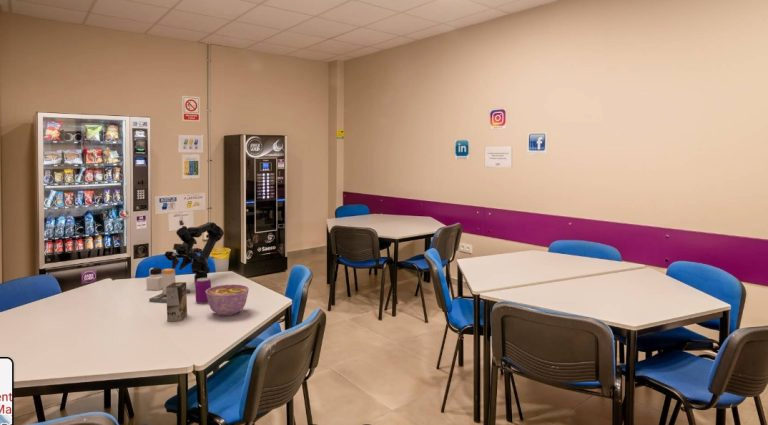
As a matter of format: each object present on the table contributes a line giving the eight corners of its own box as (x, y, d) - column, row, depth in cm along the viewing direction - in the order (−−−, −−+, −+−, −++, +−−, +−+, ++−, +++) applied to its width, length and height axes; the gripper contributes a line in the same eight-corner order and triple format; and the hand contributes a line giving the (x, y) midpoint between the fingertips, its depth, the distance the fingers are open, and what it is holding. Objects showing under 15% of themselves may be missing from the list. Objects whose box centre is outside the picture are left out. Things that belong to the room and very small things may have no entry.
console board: (173, 291, 272) (173, 288, 272) (190, 292, 271) (189, 289, 270) (149, 301, 252) (149, 298, 252) (166, 303, 250) (166, 299, 250)
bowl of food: (215, 306, 246) (214, 283, 245) (254, 307, 245) (254, 284, 244) (199, 319, 226) (198, 295, 225) (241, 320, 225) (241, 296, 224)
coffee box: (181, 321, 223) (180, 287, 221) (166, 321, 222) (165, 287, 221) (187, 314, 232) (186, 282, 230) (173, 315, 232) (172, 282, 230)
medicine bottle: (165, 287, 280) (164, 266, 279) (158, 290, 273) (157, 269, 272) (153, 286, 281) (152, 266, 279) (146, 290, 274) (145, 269, 272)
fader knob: (167, 292, 262) (166, 268, 261) (175, 292, 261) (174, 269, 260) (162, 294, 258) (161, 270, 257) (171, 294, 258) (170, 270, 256)
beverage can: (214, 300, 255) (214, 278, 254) (203, 304, 248) (202, 281, 247) (203, 298, 258) (203, 276, 257) (192, 302, 251) (191, 280, 250)
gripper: (165, 237, 271) (153, 260, 261) (196, 238, 267) (185, 262, 258) (174, 248, 279) (163, 271, 270) (204, 249, 276) (194, 273, 266)
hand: (176, 269), depth 266 cm, fingers open, 4 cm apart
